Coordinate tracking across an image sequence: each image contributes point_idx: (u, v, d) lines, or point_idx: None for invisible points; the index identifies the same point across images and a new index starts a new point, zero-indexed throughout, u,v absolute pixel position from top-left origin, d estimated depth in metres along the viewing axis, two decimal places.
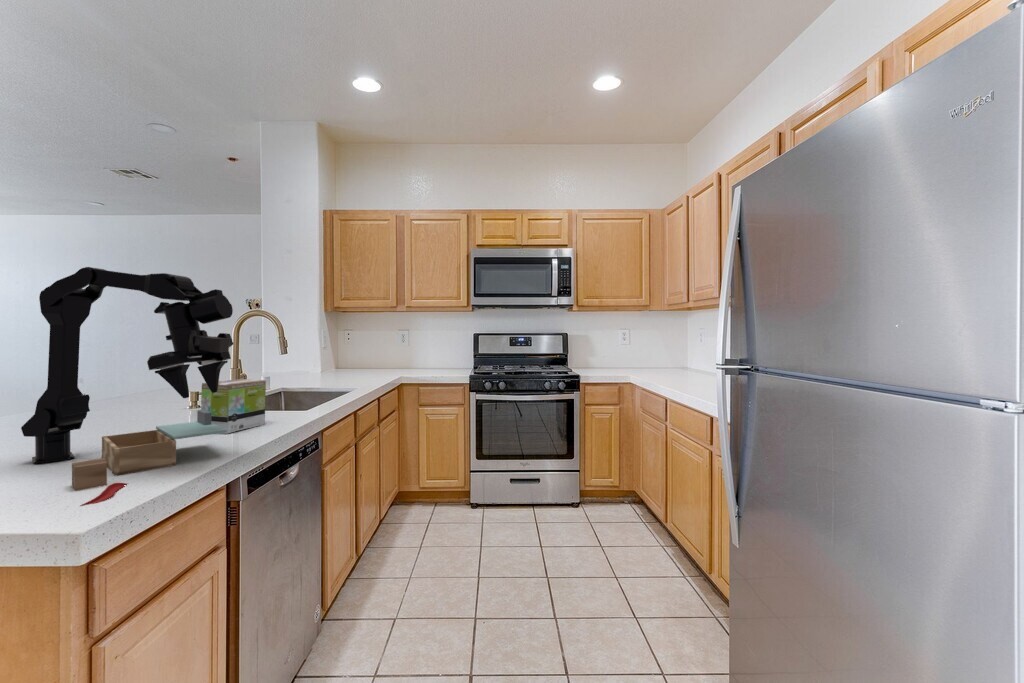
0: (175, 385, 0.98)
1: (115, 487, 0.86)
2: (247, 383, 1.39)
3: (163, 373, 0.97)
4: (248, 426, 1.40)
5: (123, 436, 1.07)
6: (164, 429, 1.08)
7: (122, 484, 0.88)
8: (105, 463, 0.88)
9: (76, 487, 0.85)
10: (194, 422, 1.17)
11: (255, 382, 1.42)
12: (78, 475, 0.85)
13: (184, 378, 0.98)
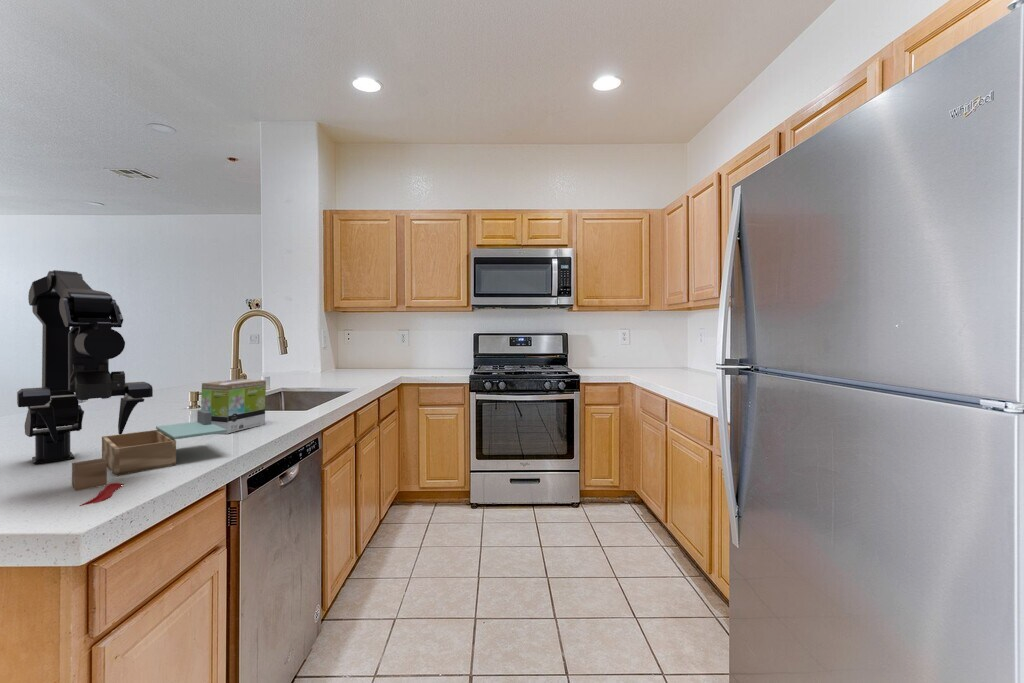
0: None
1: (112, 487, 0.86)
2: (247, 383, 1.39)
3: None
4: (248, 426, 1.40)
5: (123, 436, 1.07)
6: (164, 429, 1.08)
7: (119, 484, 0.88)
8: (105, 463, 0.88)
9: (76, 487, 0.85)
10: (194, 422, 1.17)
11: (255, 382, 1.42)
12: (78, 475, 0.85)
13: (50, 420, 0.83)
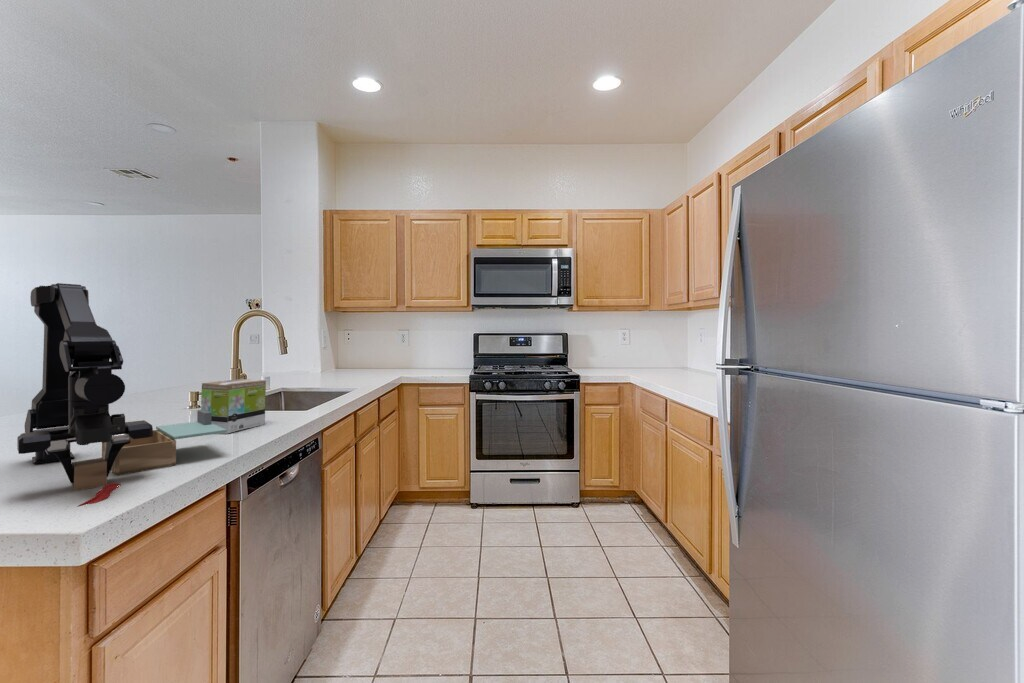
0: None
1: (110, 487, 0.86)
2: (247, 383, 1.39)
3: None
4: (248, 426, 1.40)
5: None
6: (164, 429, 1.08)
7: (116, 484, 0.87)
8: (105, 462, 0.88)
9: (76, 486, 0.85)
10: (194, 422, 1.17)
11: (255, 382, 1.42)
12: (78, 474, 0.85)
13: (67, 462, 0.85)
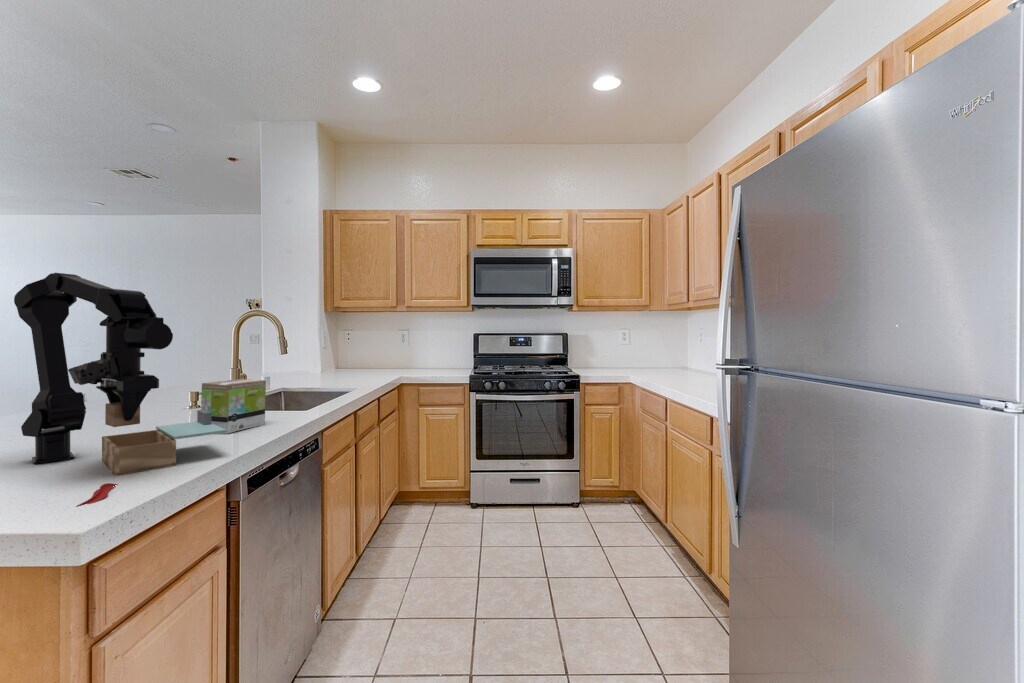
0: None
1: (106, 488, 0.85)
2: (247, 383, 1.39)
3: None
4: (248, 426, 1.40)
5: (123, 436, 1.07)
6: (164, 429, 1.08)
7: (112, 485, 0.87)
8: (114, 406, 0.96)
9: (105, 421, 0.98)
10: (194, 422, 1.17)
11: (255, 382, 1.42)
12: (106, 411, 0.98)
13: (110, 398, 0.99)
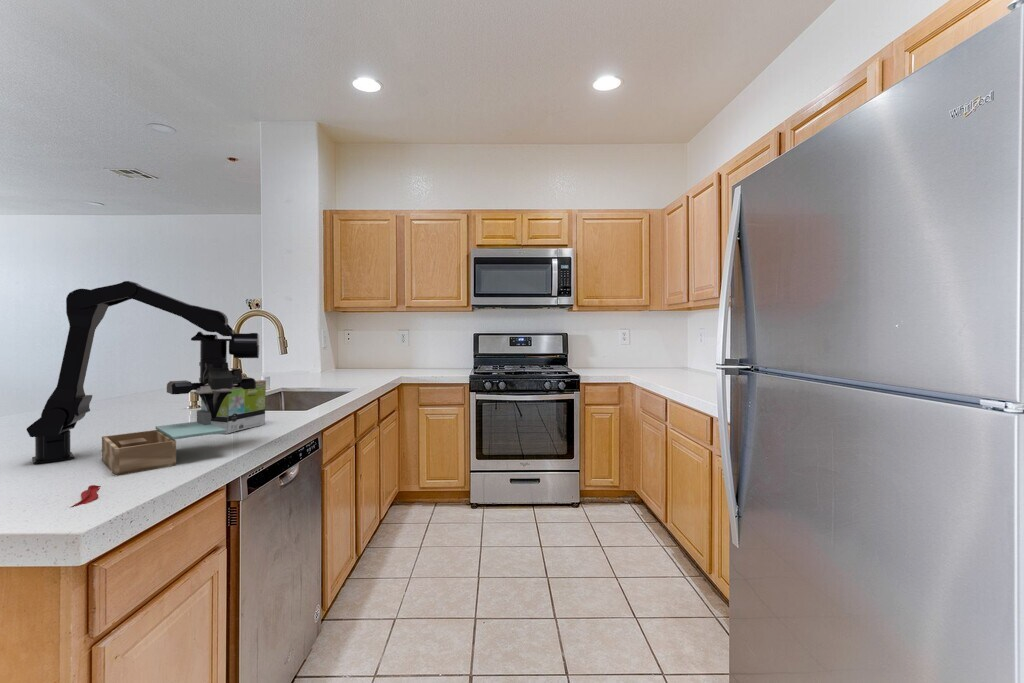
0: (206, 406, 1.18)
1: (92, 489, 0.84)
2: None
3: None
4: (248, 426, 1.40)
5: (123, 436, 1.07)
6: (163, 429, 1.08)
7: (96, 486, 0.86)
8: (121, 445, 0.99)
9: None
10: (193, 422, 1.17)
11: None
12: None
13: (210, 402, 1.16)
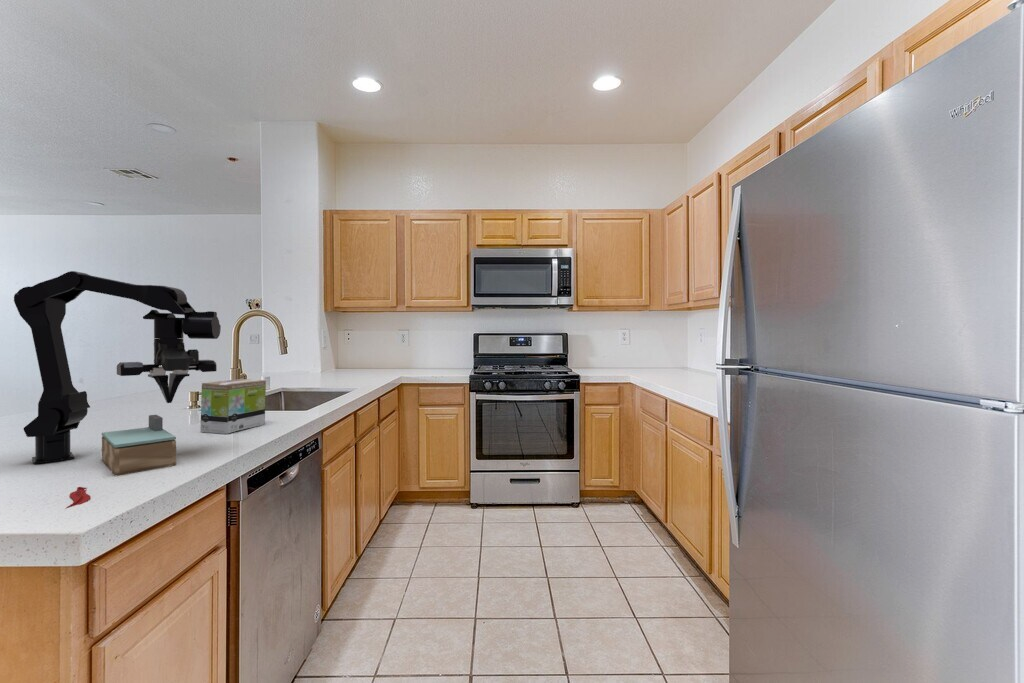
0: (161, 390, 1.10)
1: None
2: (247, 383, 1.39)
3: (155, 377, 1.10)
4: (248, 426, 1.40)
5: None
6: (108, 436, 1.01)
7: (82, 488, 0.85)
8: None
9: None
10: (145, 428, 1.10)
11: (255, 382, 1.42)
12: None
13: (165, 386, 1.09)
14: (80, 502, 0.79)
